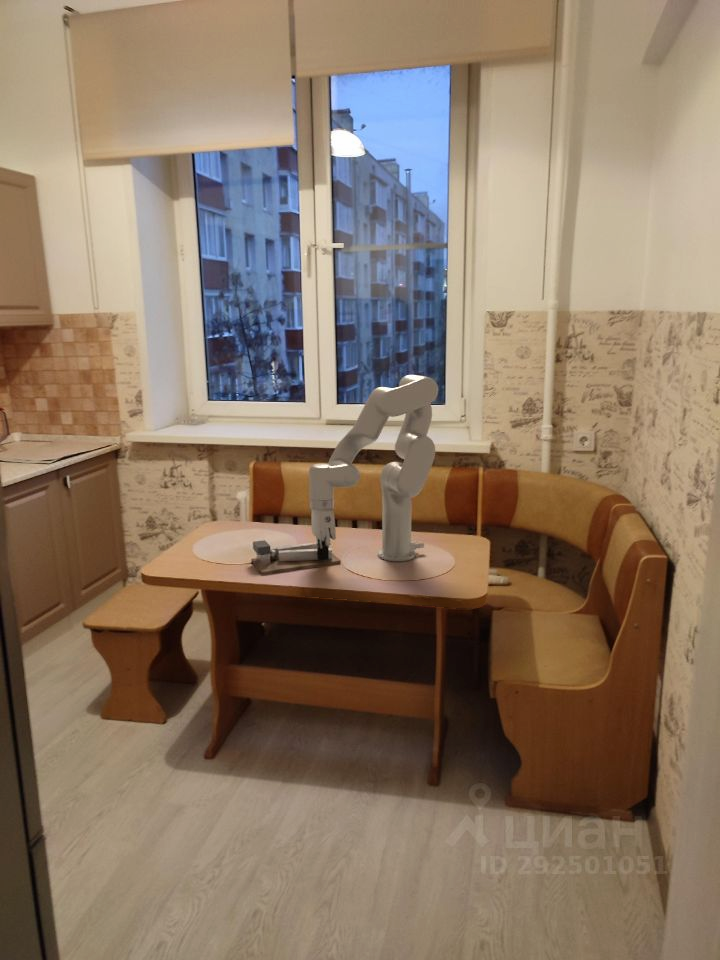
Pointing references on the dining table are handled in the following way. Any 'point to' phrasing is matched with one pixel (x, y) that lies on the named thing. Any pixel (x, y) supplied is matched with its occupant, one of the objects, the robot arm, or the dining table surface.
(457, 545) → the dining table surface
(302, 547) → the tongs frame
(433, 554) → the dining table surface
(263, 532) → the dining table surface
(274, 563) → the cutting board
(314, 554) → the grey rectangular bar
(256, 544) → the lock slider
